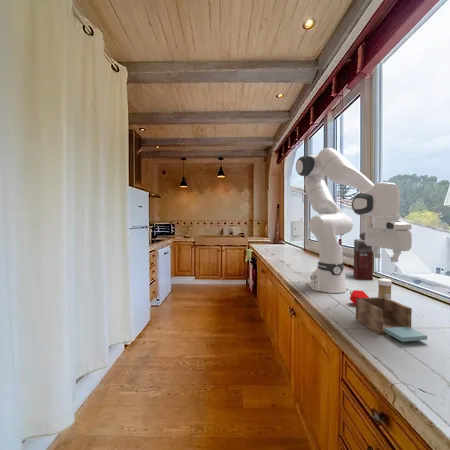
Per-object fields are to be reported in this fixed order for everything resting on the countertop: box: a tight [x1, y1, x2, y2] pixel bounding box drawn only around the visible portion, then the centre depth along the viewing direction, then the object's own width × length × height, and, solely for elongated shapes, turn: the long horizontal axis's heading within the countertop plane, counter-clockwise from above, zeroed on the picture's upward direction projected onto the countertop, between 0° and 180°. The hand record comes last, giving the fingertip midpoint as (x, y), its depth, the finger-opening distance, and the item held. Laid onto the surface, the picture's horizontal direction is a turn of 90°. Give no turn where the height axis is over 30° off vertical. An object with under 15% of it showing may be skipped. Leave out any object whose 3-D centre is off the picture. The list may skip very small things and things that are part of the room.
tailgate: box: [384, 326, 428, 342], centre depth 81 cm, size 1×8×7 cm
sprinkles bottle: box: [377, 278, 393, 300], centre depth 101 cm, size 5×5×13 cm
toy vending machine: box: [353, 231, 374, 281], centre depth 158 cm, size 9×11×28 cm
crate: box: [355, 296, 413, 335], centre depth 90 cm, size 12×11×8 cm
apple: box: [349, 289, 370, 306], centre depth 112 cm, size 7×7×8 cm
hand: (385, 259), depth 101 cm, fingers open, 8 cm apart
